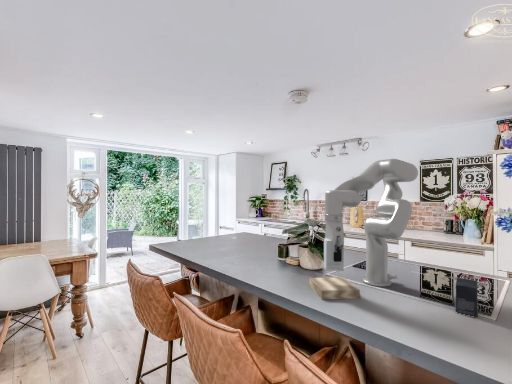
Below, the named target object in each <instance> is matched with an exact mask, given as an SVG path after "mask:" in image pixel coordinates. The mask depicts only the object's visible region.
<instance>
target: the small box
mask: <svg viewBox="0 0 512 384" xmlns="http://www.w3.org/2000/svg"><path fill="white" fill-rule="evenodd" d="M454 289H455V290H454V294H455V295H454V299H455V301H454V304H455V313H456V312H457V313H456V314H459V313H461V314H460V315H463V314H465V315H464V316H467V315H470V316H469V317H471V316H474V317H473V318H476V317H478V315H479V314H478V313H479V311H478V309H479V308H478V307H479V306H478V302H479V300H478V280H474V279H467V278H462V277H461V278H460V277H456V282H455V287H454ZM478 318H479V317H478Z"/></svg>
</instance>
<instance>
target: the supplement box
mask: <svg viewBox="0 0 512 384" xmlns="http://www.w3.org/2000/svg"><path fill="white" fill-rule="evenodd" d="M338 244H339V243H338V241H336V243H335V245H338ZM344 245H345V244H344ZM344 245H343V247H342V248H343V249H342V261H341V262H334V252H335V250H334V246H333V245H332V241H331V240H328V239H326V238H325V237H324V238H323V267H324V269H325V270H326V271H329V272H330V271H333V272H344V250H345V248H344ZM336 249H337V247H336Z"/></svg>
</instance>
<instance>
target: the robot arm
mask: <svg viewBox="0 0 512 384" xmlns="http://www.w3.org/2000/svg"><path fill="white" fill-rule="evenodd" d="M418 176H419V170H418V168H417V167H416V165H415V164H413V163H410V162H407V161H405V160H402V159H398V158H389V159H380V160H379V159H378V160H375V161H374V162H372V163H371V164H370V165H369V166H368V167H367V168H365V169H364V170H363V171H362V172H361V173H360V174H358V175H356V176H354V177H352V178H350V179H348V180H346V181H343V182H342V183H340V184H339V185H338V186H337V187H336V188H335V189H333V190H331V189H330V190H326V192H325V195H324V197H325V198H324V203H325V204H324V223H325V229H324V238H326V239H328V240H331V241H332V245H333V246H334V250H335V252H334V262H341V261H342V249H343V248H342V247H343V245H345V232H344V224H343V223H344V207H345V208H354V207H355V208H356V207H357V206H359V205H360V204H361V201H362V196H361V194H360V193H362V192H363V193H364V192H367V191H369V190H372V189H373V188H374V187H376V186H377V185H378V184H379V182H381V181H383V182H382V183H383V187H384V191H383V193H382V195H381V197H380V199H379V201H378V203H377V205H376V207H375V213H376V215H377V216H370V217H368V218H367V219H365V221H364V224H363V229H364V233H365V241H366V242H365V276H364V277H362V279H361V280H362V282H363V283H365V284H366V285H370V286H375V287H381V288H382V287H383V288H384V287H390V286H391V285H392V281H391V280H397V279H398V275H397V274H391V273H388V271H389V270H388V269H389V268H388V267H389V266H388V263H389V262H388V261H389V260H388V259H389V258H388V257H389V254H388V253H389V247H388V243H387V239H388V240H398V239H400V238H401V237H402V235H403V234H404V232H405V230H406V228H407V226H408V224H409V221H410V219H411V217H412V215H413V214H412V213H413V206H412V204H411V202H410V201H409V200H406V199H403V198H402V197H403V190H402V187H400V185H399V183H410V182H413V181H416V180H417V178H418ZM336 241H338V243H339V244H338V245H335V243H336ZM336 247H337V249H336Z"/></svg>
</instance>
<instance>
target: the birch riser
mask: <svg viewBox="0 0 512 384" xmlns="http://www.w3.org/2000/svg"><path fill="white" fill-rule="evenodd" d="M308 281H309V285H308V286H309V287H310V288H311V289H312V290H313V291H314V293H315V294H316V295H317V296H318V297H319V298H320V300H343V299H345V300H346V299H350V300H351V299H360V298H361V296H360V295H361V291H360V290H361V289H359V288H358V287H357V286H355V284H353V283H351V282H350V281H349V280H347V279H345V277H342V276H339V277H309V280H308Z"/></svg>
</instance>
